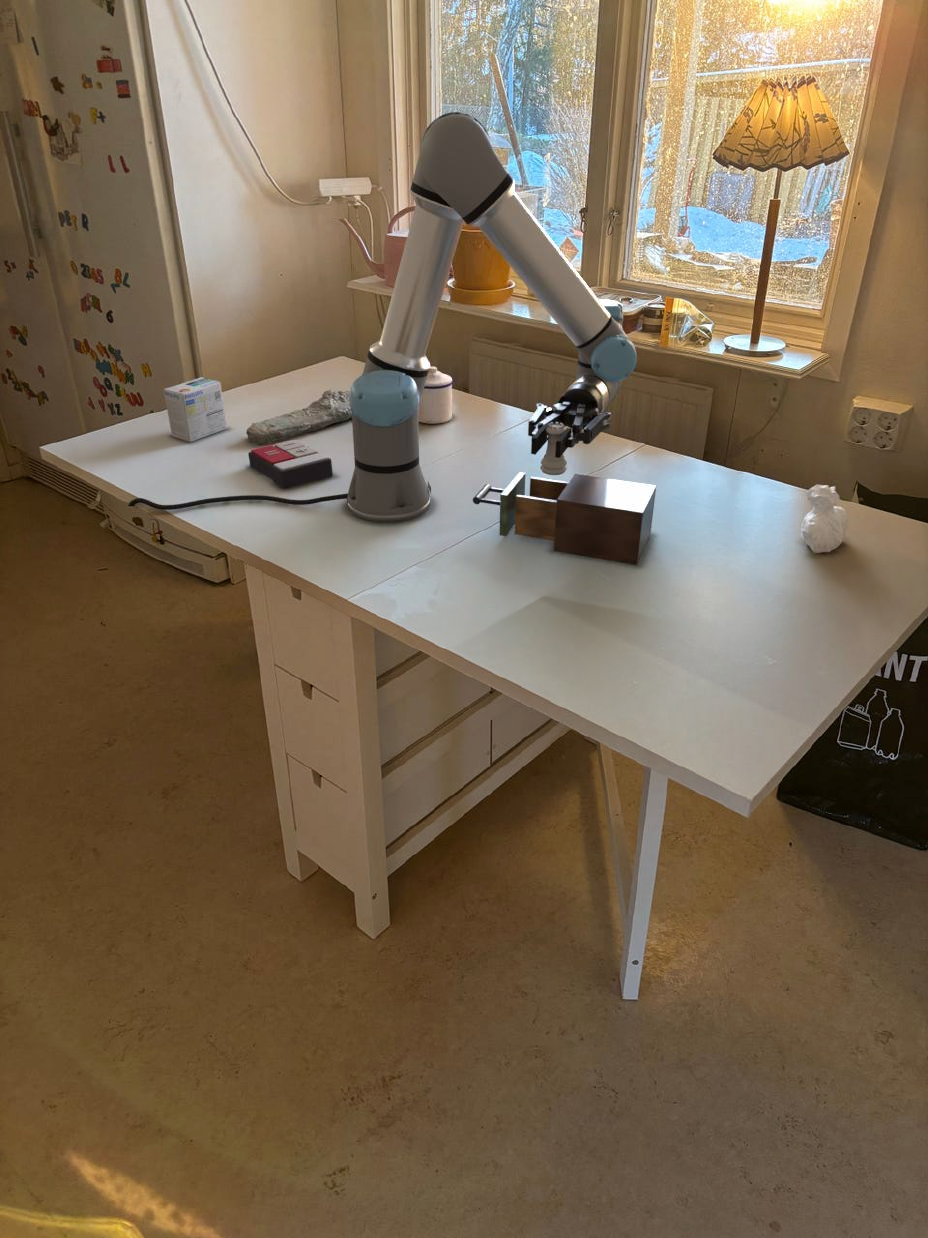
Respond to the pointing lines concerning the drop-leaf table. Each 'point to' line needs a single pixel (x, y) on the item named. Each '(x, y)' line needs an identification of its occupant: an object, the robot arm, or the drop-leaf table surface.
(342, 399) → the long grey stone
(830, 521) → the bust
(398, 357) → the robot arm
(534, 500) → the drawer
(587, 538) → the cabinet
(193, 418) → the light bulb box
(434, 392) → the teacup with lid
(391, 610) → the drop-leaf table surface
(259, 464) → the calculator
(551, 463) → the rook chess piece
